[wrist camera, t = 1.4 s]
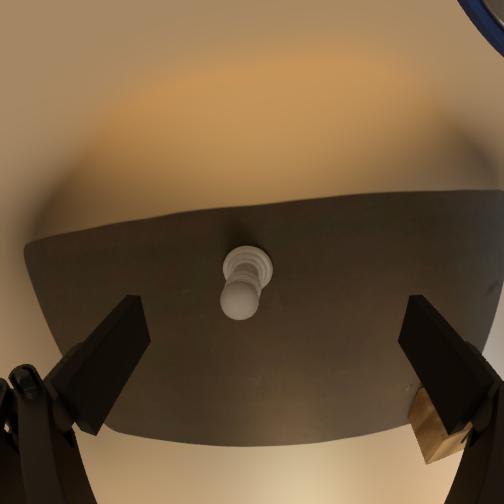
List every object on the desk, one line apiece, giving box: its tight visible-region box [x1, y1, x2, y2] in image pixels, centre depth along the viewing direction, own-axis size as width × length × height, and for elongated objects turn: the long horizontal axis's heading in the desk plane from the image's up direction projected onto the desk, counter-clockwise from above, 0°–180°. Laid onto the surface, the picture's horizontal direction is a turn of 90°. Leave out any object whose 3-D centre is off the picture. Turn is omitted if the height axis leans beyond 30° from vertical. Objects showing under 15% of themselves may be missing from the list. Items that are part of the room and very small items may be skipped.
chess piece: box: [220, 246, 273, 320], centre depth 26 cm, size 5×5×9 cm
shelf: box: [408, 387, 473, 465], centre depth 30 cm, size 9×8×12 cm
